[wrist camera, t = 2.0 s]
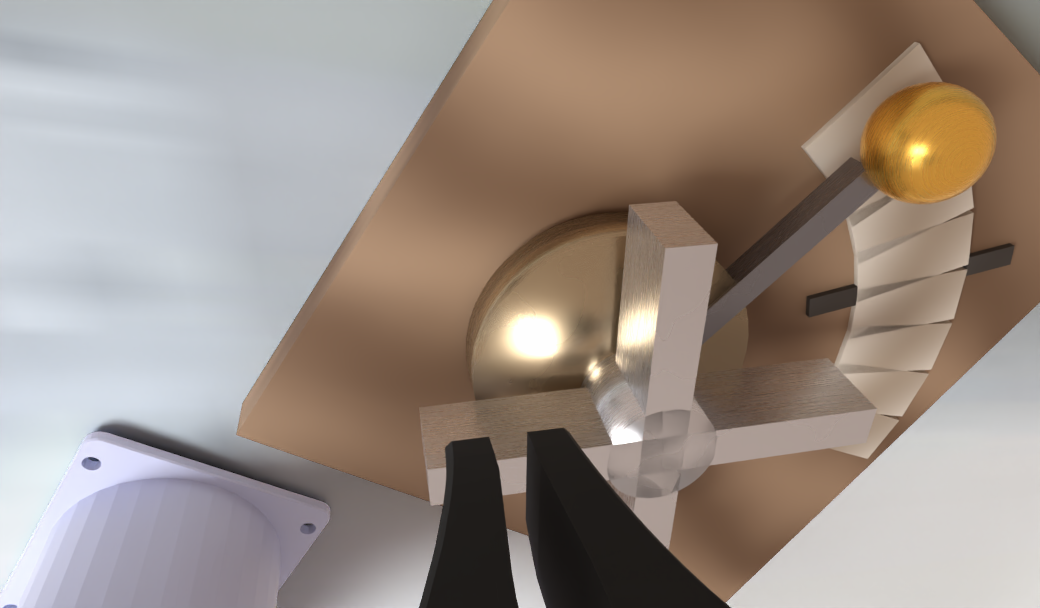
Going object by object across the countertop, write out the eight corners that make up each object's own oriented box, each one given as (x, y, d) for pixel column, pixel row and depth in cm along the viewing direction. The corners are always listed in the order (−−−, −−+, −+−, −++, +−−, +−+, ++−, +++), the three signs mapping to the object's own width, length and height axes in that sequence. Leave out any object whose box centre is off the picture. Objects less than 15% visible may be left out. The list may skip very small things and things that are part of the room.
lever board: (709, 574, 32) (726, 607, 30) (242, 403, 23) (235, 439, 21) (1108, 180, 25) (1154, 199, 24) (673, -291, 16) (706, -307, 14)
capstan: (824, 469, 27) (896, 560, 23) (427, 529, 24) (441, 641, 21) (944, 62, 19) (1076, 106, 16) (390, 88, 17) (401, 147, 13)
